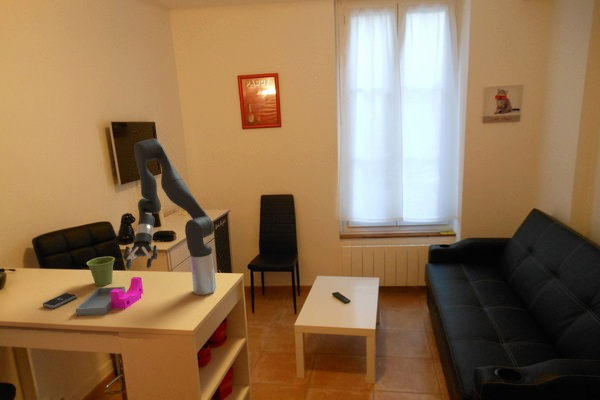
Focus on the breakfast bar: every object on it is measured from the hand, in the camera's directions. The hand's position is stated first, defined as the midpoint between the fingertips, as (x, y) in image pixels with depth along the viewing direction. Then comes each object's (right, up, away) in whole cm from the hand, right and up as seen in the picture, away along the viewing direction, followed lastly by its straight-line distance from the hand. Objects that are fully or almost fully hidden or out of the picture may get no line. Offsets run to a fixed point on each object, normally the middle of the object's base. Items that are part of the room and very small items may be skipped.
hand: (138, 268), depth 174 cm
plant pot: (-21, -9, +12) cm, 26 cm away
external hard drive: (-30, -14, -7) cm, 34 cm away
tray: (-11, -13, -10) cm, 20 cm away
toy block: (0, -13, -7) cm, 15 cm away
